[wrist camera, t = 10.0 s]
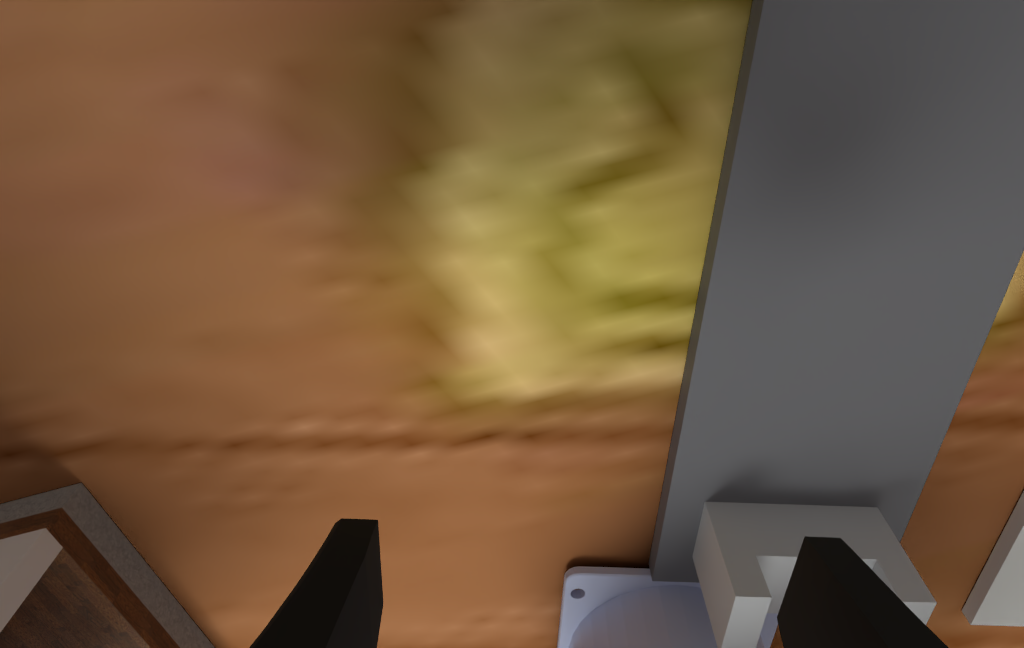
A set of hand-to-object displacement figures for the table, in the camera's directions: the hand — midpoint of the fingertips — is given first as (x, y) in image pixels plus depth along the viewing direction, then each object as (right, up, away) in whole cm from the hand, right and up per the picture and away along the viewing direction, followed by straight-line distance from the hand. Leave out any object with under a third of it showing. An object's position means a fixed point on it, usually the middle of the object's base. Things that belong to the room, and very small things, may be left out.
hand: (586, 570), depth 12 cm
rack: (+8, +6, +7) cm, 12 cm away
